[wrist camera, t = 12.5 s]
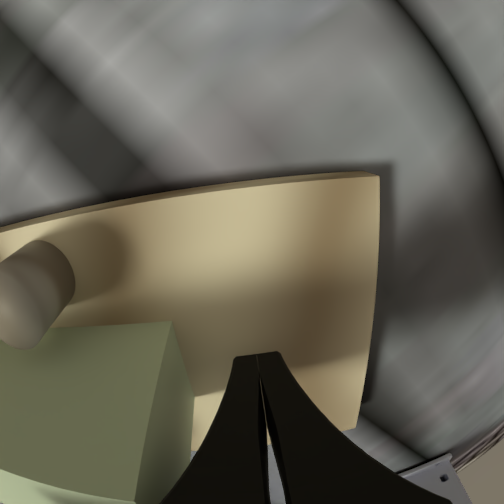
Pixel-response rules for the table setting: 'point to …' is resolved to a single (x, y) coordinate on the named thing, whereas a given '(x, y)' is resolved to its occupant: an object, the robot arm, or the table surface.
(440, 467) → the robot arm
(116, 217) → the board
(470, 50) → the table surface
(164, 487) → the block
